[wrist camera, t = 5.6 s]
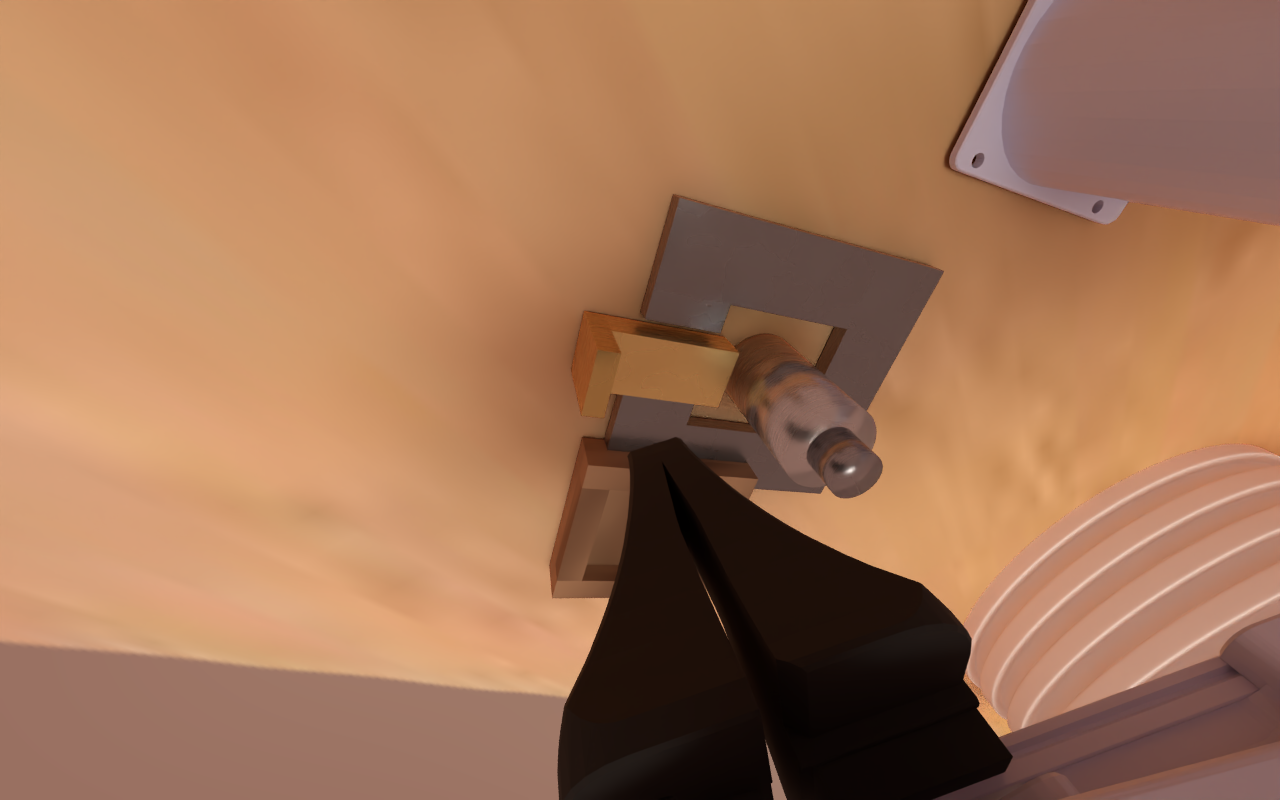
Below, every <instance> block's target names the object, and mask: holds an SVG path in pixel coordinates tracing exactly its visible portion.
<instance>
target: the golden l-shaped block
mask: <svg viewBox="0 0 1280 800" xmlns="http://www.w3.org/2000/svg"><path fill="white" fill-rule="evenodd" d="M738 356H739V352H738V351H737V350H736V349H735V348H734V347H733V345H732V344H731V343H730V342H729V341H728V340H727V339H726V338H725V337H723V336H718V335H712V334H707V333H701V332H696V331H691V330H685V329H680V328H674V327H669V326H663V325H658V324H653V323H647V322H642V321H636V320H631V319H625V318H620V317H615V316H609V315H604V314H598V313H593V312H587V311H584V314H583V318H582V323H581V327H580V331H579V336H578V340H577V345H576V349H575V353H574V358H573V362H572V367H571V372H572V376H573V381H574V385H575V390H576V394H577V399H578V403H579V408H580V412H581V416H588V417H597V418H604V416H605V412H606V409H607V405H608V401H609V398H610V394H611V393H612V394H619V395H627V396H635V397H642V398H650V399H657V400H665V401H673V402H680V403H688V404H695V405H703V406H711V407H718V406H719V404H720V401H721V399H722V396H723V394H724V391H725V389H726V386H727V384H728V381H729V378H730V376H731V373H732V371H733V368H734V366H735V363H736V361H737V358H738Z"/></svg>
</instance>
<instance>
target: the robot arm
mask: <svg viewBox="0 0 1280 800" xmlns="http://www.w3.org/2000/svg"><path fill="white" fill-rule="evenodd" d="M975 155H976V160H975V162H974V163H973V165H972V160H973V158H974V157H975ZM949 164H950V167H951V168H952V169H953V170H955V171H958V172H960V173H963V174H966V175H969V176H971V177H974V178H977V179H979V180H982V181H985V182H988V183H990V184H993V185H996V186H998V187H1001V188H1004V189H1006V190H1009V191H1012V192H1015V193H1017V194H1020V195H1023V196H1025V197H1028V198H1031V199H1034V200H1036V201H1039V202H1042V203H1044V204H1047V205H1050V206H1053V207H1055V208H1058V209H1061V210H1063V211H1066V212H1069V213H1072V214H1074V215H1077V216H1080V217H1082V218H1085V219H1088V220H1090V221H1093V222H1096V223H1100V224H1109V223H1111V222H1113V221H1114V220H1116V219H1117V217H1118V216H1119V215H1120V214H1121V212H1122V211H1123V209H1124V208H1125V206H1126V205H1127V203H1128V202H1135V203H1141V204H1147V205H1153V206H1159V207H1166V208H1172V209H1178V210H1184V211H1190V212H1196V213H1203V214H1209V215H1215V216H1221V217H1227V218H1234V219H1240V220H1246V221H1252V222H1258V223H1265V224H1271V225H1277V226H1280V0H1028V2H1027V4H1026V6H1025V8H1024V10H1023V12H1022V14H1021V16H1020V18H1019V20H1018V22H1017V24H1016V26H1015V28H1014V30H1013V32H1012V34H1011V36H1010V38H1009V40H1008V42H1007V44H1006V46H1005V48H1004V50H1003V52H1002V54H1001V56H1000V58H999V60H998V61H997V63H996V65H995V67H994V69H993V71H992V73H991V75H990V77H989V79H988V81H987V83H986V85H985V87H984V89H983V91H982V93H981V95H980V97H979V99H978V101H977V103H976V105H975V107H974V109H973V111H972V113H971V115H970V117H969V119H968V121H967V123H966V125H965V127H964V129H963V131H962V133H961V135H960V136H959V138H958V140H957V142H956V144H955V146H954V148H953V150H952V152H951V155H950V158H949ZM627 457H628V461H629V468H630V495H629V508H628V518H627V524H626V531H625V537H624V543H623V548H622V553H621V558H620V562H619V566H618V570H617V574H616V578H615V581H614V585H613V588H612V591H611V595H610V598H609V601H608V604H607V607H606V610H605V613H604V616H603V619H602V622H601V624H600V627H599V629H598V632H597V634H596V637H595V639H594V642H593V644H592V647H591V650H590V652H589V654H588V657H587V659H586V661H585V664H584V666H583V668H582V670H581V672H580V674H579V676H578V678H577V680H576V682H575V685H574V687H573V689H572V691H571V693H570V695H569V697H568V699H567V701H566V703H565V706H564V711H563V717H562V724H561V730H560V739H559V749H558V789H559V800H773V794H772V788H771V783H772V777H771V771H770V765H769V759H768V753H767V747H766V743H767V745H768V748H769V751H770V754H771V756H772V759H773V762H774V765H775V768H776V770H777V773H778V776H779V779H780V782H781V784H782V787H783V790H784V793H785V796H786V798H787V800H1280V614H1277V615H1275V616H1272V617H1269V618H1267V619H1264V620H1261V621H1258V622H1256V623H1253V624H1251V625H1249V626H1247V627H1244V628H1243V629H1241V630H1240V631H1238V632H1237V633H1235V634H1234V635H1233V636H1231V637H1230V638H1229V639H1228V640H1227V641H1226V643H1225V644H1224V645H1223V647H1222V648H1221V650H1220V655H1219V656H1216V657H1214V658H1211V659H1208V660H1205V661H1203V662H1200V663H1197V664H1195V665H1192V666H1189V667H1187V668H1184V669H1181V670H1179V671H1176V672H1173V673H1170V674H1168V675H1165V676H1162V677H1160V678H1157V679H1154V680H1152V681H1149V682H1146V683H1144V684H1141V685H1138V686H1136V687H1133V688H1130V689H1127V690H1125V691H1122V692H1119V693H1117V694H1114V695H1111V696H1109V697H1106V698H1103V699H1101V700H1098V701H1095V702H1092V703H1090V704H1087V705H1084V706H1082V707H1079V708H1076V709H1074V710H1071V711H1068V712H1066V713H1063V714H1060V715H1058V716H1055V717H1052V718H1049V719H1047V720H1044V721H1041V722H1039V723H1036V724H1033V725H1031V726H1028V727H1025V728H1023V729H1020V730H1017V731H1015V732H1012V733H1009V734H1006V735H1004V736H1001V737H998V736H997V735H996V733H995V732H994V731H993V729H992V728H991V727H990V725H989V724H988V723H987V721H986V720H985V719H984V718H983V716H982V715H981V714H980V712H979V711H978V710H977V707H979V704H980V703H979V701H978V699H977V697H976V696H975V694H974V693H973V692H972V690H971V689H970V688H969V687H968V685H967V684H966V683H965V681H964V680H963V678H964V675H965V671H966V668H967V665H968V661H969V658H970V654H971V644H972V638H971V636H970V635H969V633H968V631H967V630H966V628H965V627H964V626H963V625H962V624H961V623H960V621H959V620H958V619H957V618H956V617H955V616H954V614H953V613H952V612H951V611H950V610H949V609H948V608H947V607H946V606H945V605H944V604H943V603H942V602H941V601H940V600H939V599H937V598H936V597H935V596H934V595H933V594H932V593H931V592H930V591H929V590H928V589H927V588H926V587H925V586H924V585H922V584H921V583H919V582H916V581H913V580H910V579H907V578H905V577H902V576H899V575H896V574H893V573H890V572H888V571H885V570H882V569H879V568H876V567H873V566H871V565H868V564H866V563H864V562H861V561H859V560H857V559H854V558H852V557H850V556H847V555H845V554H843V553H841V552H839V551H837V550H835V549H833V548H831V547H829V546H827V545H825V544H822V543H820V542H818V541H816V540H814V539H812V538H810V537H808V536H806V535H804V534H803V533H801V532H799V531H797V530H796V529H794V528H792V527H790V526H789V525H787V524H785V523H783V522H782V521H780V520H779V519H777V518H775V517H774V516H772V515H770V514H769V513H767V512H766V511H764V510H763V509H761V508H760V507H758V506H757V505H756V504H754V503H753V502H751V501H750V500H749V499H747V498H746V497H744V496H743V495H742V494H740V493H739V492H738V491H736V490H735V489H734V488H733V487H731V486H730V485H729V484H728V483H726V482H725V481H724V480H723V479H722V478H720V477H719V476H718V475H717V474H716V473H714V472H713V471H712V470H711V469H710V468H709V467H708V466H707V465H706V464H705V463H703V462H702V461H701V460H700V459H699V458H698V457H697V456H696V455H695V454H694V453H693V452H692V451H691V450H690V449H689V448H688V446H687V445H686V444H685V443H684V442H683V441H682V439H680V438H678V437H674V438H671V439H668V440H665V441H662V442H658V443H655V444H652V445H649V446H646V447H643V448H639V449H636V450H633V451H630V453H629V454H628V456H627ZM700 577H701V578H700ZM701 579H702V580H701ZM702 581H703V582H702ZM703 583H704V585H705V587H706V589H707V591H708V593H709V595H710V597H711V600H712V602H713V604H714V606H715V608H716V610H717V612H718V615H719V617H720V619H721V622H722V624H723V626H724V629H725V631H726V633H725V631H724V629H723V627H722V625H721V623H720V621H719V618H718V616H717V614H716V612H715V609H714V607H713V605H712V603H711V600H710V598H709V596H708V594H707V592H706V589H705V587H704V585H703ZM726 634H727V636H726ZM727 637H728V638H727ZM728 639H729V640H728ZM765 740H766V741H765Z"/></svg>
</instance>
